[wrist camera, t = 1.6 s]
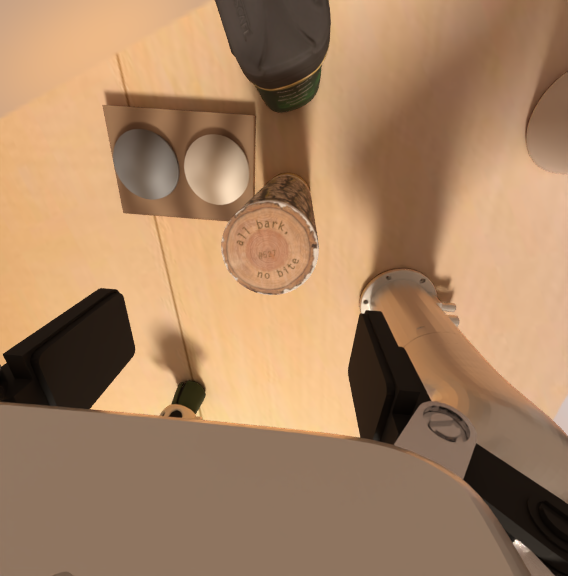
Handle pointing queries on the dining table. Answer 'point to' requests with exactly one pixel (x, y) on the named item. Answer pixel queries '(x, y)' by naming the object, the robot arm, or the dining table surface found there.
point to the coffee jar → (279, 46)
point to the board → (182, 161)
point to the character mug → (186, 401)
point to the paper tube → (273, 238)
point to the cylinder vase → (550, 129)
